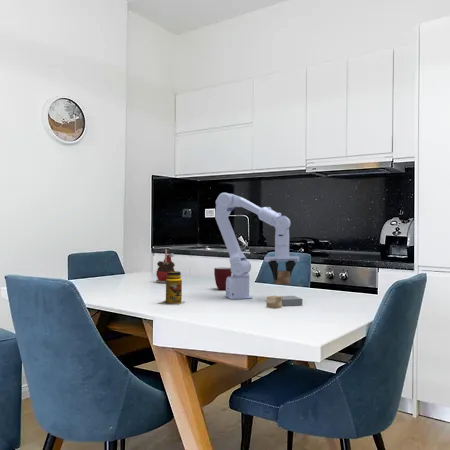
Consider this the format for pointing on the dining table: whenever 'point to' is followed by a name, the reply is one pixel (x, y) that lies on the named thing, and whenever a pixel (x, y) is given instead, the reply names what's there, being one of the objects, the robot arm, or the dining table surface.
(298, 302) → the slate base
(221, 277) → the mug
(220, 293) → the dining table surface
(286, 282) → the walnut cube
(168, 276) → the condiment
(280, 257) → the robot arm
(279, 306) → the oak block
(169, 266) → the cake
